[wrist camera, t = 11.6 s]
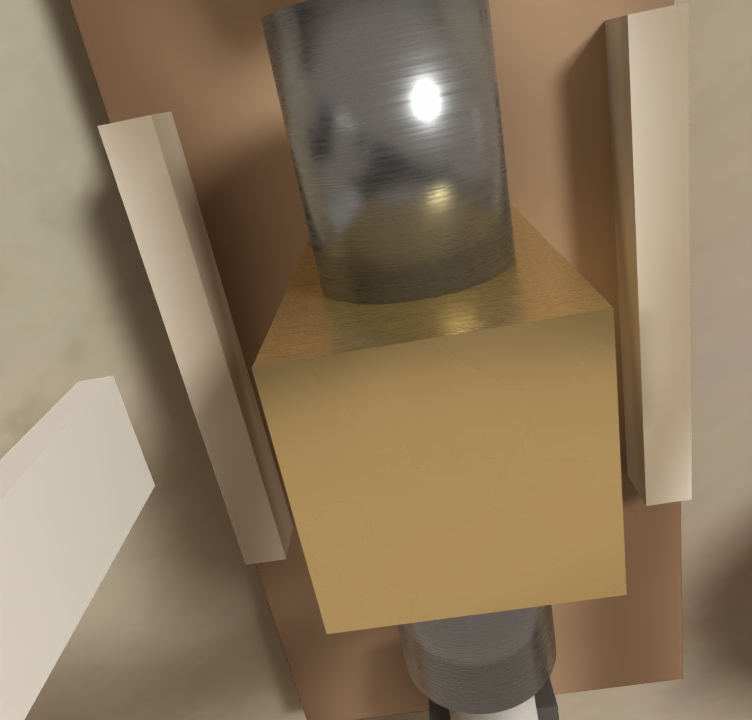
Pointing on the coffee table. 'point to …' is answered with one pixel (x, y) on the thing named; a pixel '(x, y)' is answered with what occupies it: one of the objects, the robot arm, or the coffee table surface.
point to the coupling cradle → (291, 236)
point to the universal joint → (434, 359)
